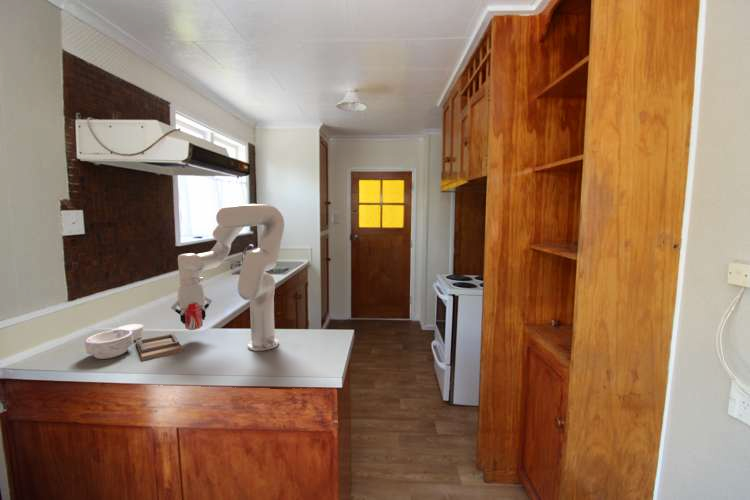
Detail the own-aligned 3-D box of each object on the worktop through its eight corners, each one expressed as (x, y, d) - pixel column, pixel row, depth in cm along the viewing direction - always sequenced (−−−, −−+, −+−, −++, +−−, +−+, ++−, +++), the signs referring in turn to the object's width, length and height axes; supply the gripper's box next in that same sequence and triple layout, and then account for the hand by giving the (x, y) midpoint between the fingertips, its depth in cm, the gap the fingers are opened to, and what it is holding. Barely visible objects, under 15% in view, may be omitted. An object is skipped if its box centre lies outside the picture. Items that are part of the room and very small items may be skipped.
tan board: (182, 351, 143) (182, 347, 142) (142, 360, 134) (141, 356, 134) (173, 336, 159) (173, 333, 159) (136, 343, 151) (136, 340, 151)
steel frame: (179, 344, 146) (179, 342, 145) (142, 352, 137) (141, 349, 137) (173, 336, 156) (173, 333, 155) (138, 343, 147) (138, 340, 147)
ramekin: (109, 345, 150) (108, 333, 149) (119, 336, 160) (118, 325, 160) (138, 342, 153) (138, 330, 152) (147, 333, 163) (146, 322, 163)
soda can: (183, 328, 154) (180, 302, 153) (200, 324, 159) (197, 298, 158) (188, 332, 149) (185, 304, 148) (205, 327, 154) (203, 301, 153)
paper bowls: (76, 361, 133) (74, 341, 132) (111, 346, 148) (109, 328, 147) (111, 363, 131) (109, 343, 130) (143, 347, 146) (141, 329, 145)
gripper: (208, 277, 160) (212, 315, 162) (165, 283, 149) (169, 323, 151) (213, 279, 154) (216, 318, 156) (168, 286, 143) (172, 327, 145)
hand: (193, 320), depth 154 cm, fingers closed on soda can, 7 cm apart
